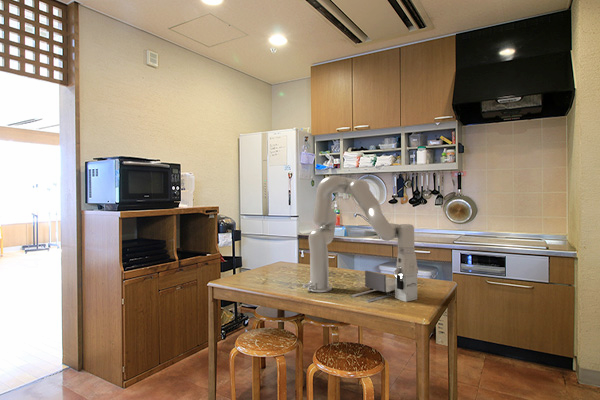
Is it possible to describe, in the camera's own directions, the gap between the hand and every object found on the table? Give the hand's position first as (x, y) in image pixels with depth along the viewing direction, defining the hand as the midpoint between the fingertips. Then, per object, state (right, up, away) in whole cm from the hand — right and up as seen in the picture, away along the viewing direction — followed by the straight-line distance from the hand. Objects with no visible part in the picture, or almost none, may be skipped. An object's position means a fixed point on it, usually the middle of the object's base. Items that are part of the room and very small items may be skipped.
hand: (406, 287), depth 165 cm
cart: (-8, -5, +11) cm, 14 cm away
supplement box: (0, -6, 0) cm, 6 cm away
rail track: (-11, -6, +8) cm, 15 cm away
